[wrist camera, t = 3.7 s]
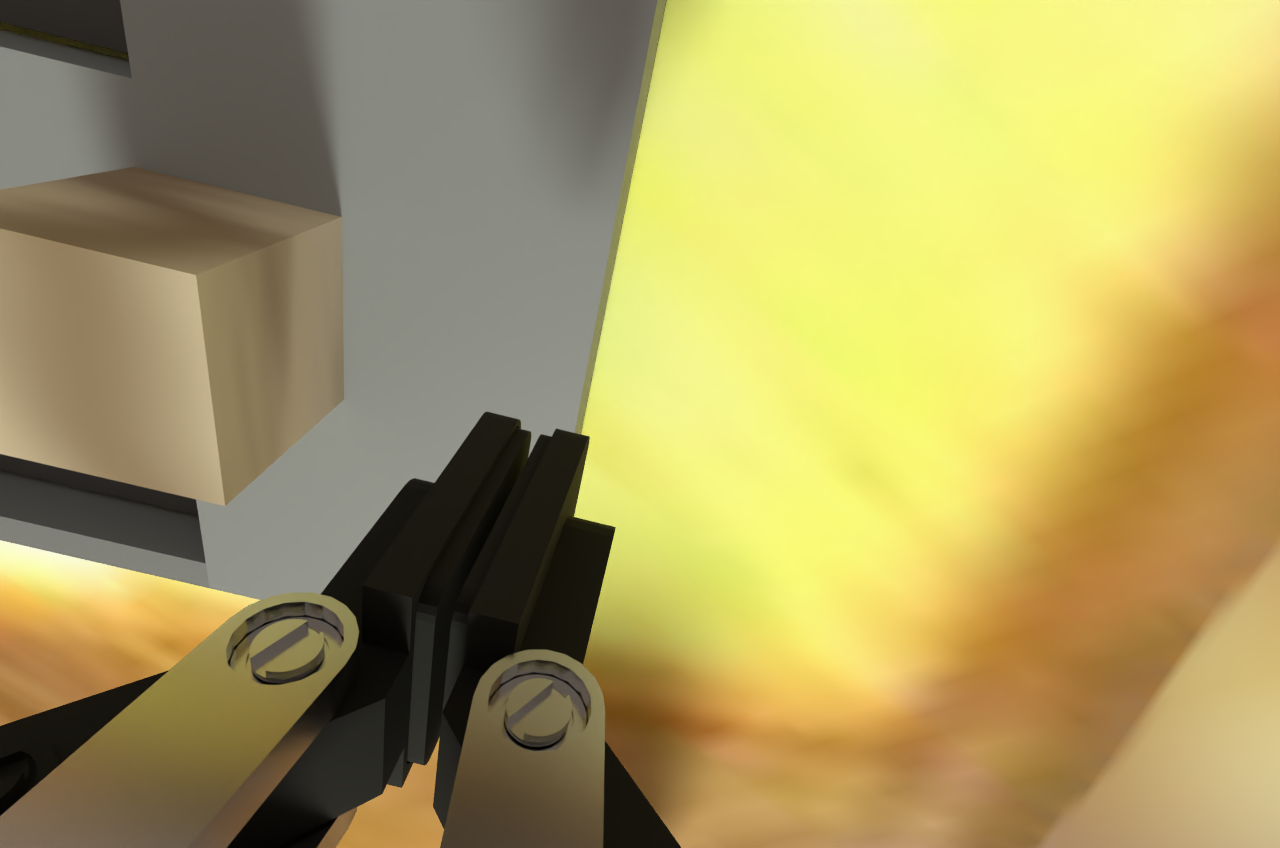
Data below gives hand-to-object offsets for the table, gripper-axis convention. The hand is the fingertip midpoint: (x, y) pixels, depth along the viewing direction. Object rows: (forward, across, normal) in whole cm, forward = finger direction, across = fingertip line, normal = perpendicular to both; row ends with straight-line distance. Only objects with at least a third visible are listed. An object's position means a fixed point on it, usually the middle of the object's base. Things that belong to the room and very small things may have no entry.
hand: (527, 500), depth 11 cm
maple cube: (+5, +8, 0) cm, 9 cm away
